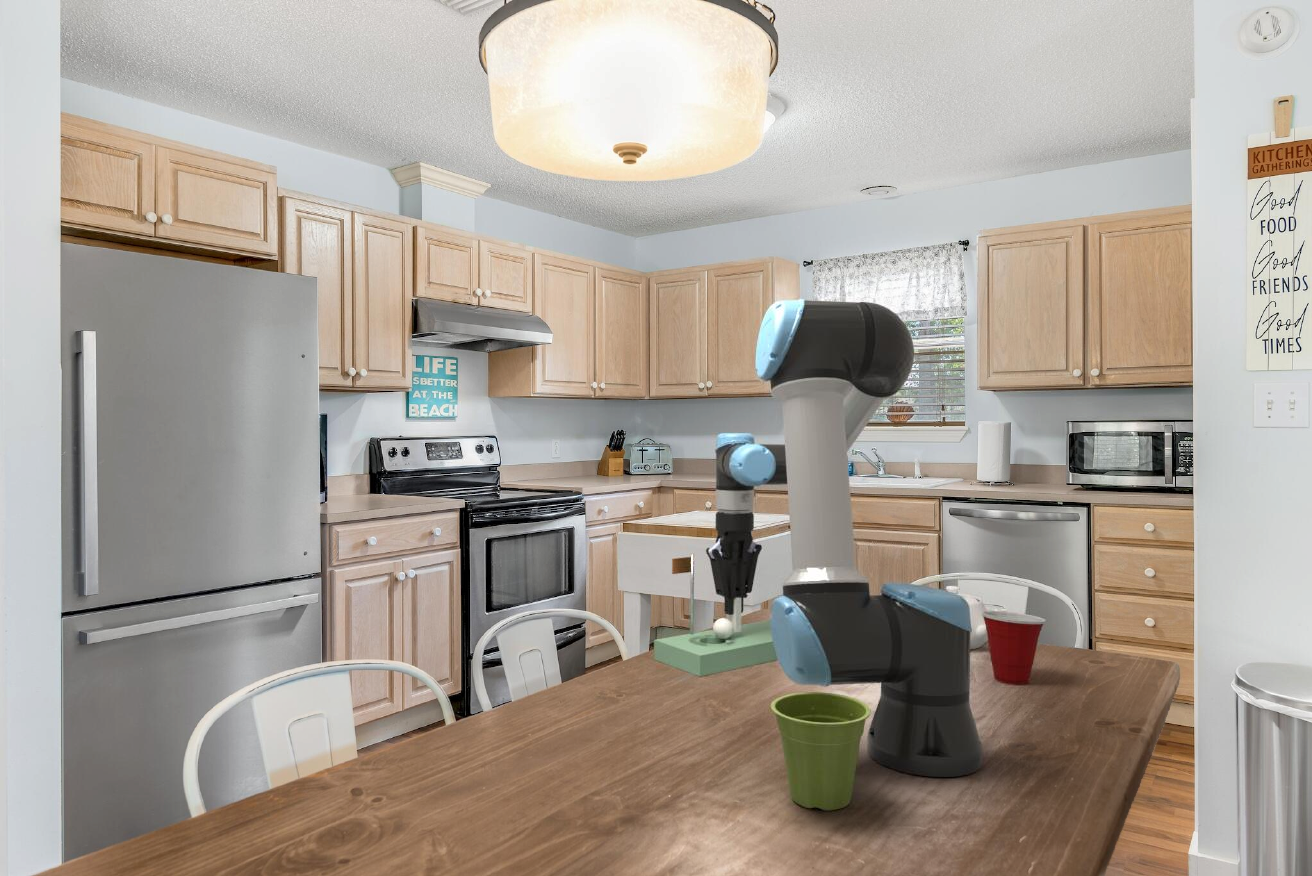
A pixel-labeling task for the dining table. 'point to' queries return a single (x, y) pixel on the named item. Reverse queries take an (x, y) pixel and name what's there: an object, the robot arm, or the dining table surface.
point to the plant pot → (820, 746)
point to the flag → (688, 566)
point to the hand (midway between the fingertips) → (733, 630)
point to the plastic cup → (1012, 644)
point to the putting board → (717, 649)
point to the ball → (723, 628)
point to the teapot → (975, 618)
